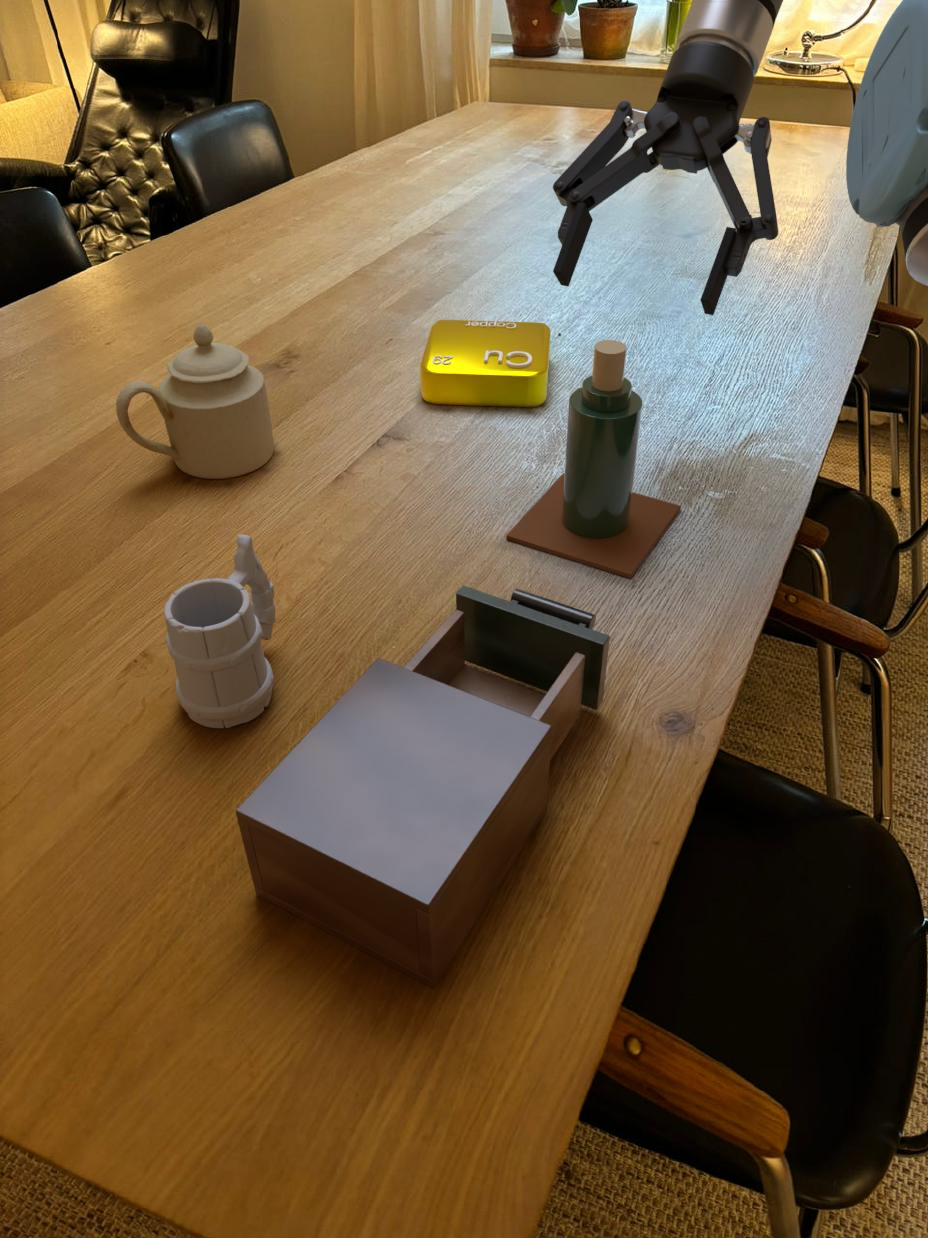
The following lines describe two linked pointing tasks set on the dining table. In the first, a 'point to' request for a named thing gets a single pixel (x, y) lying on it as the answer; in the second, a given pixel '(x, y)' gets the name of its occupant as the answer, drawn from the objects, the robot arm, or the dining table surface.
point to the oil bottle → (601, 447)
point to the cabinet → (398, 816)
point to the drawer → (520, 656)
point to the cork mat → (607, 554)
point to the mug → (223, 643)
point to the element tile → (486, 363)
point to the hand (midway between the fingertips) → (631, 293)
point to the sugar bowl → (208, 411)
